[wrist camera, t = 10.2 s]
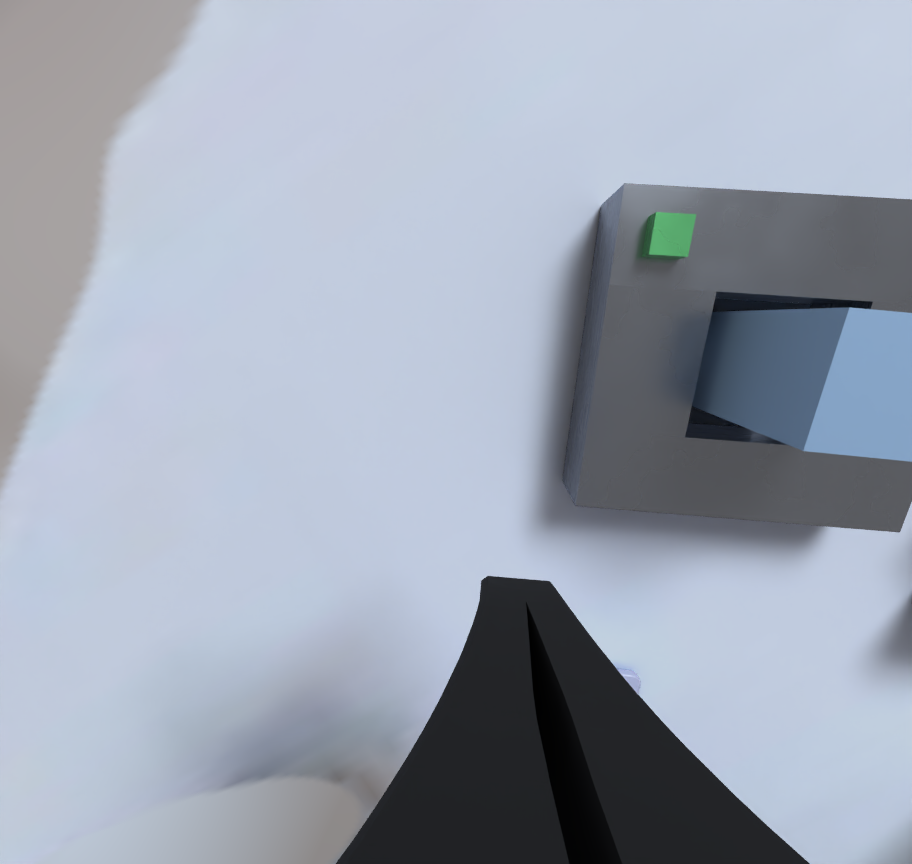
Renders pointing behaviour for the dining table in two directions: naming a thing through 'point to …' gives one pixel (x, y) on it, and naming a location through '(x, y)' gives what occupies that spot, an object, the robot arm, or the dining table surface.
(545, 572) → the dining table surface
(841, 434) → the plug
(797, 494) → the port block
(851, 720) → the dining table surface
